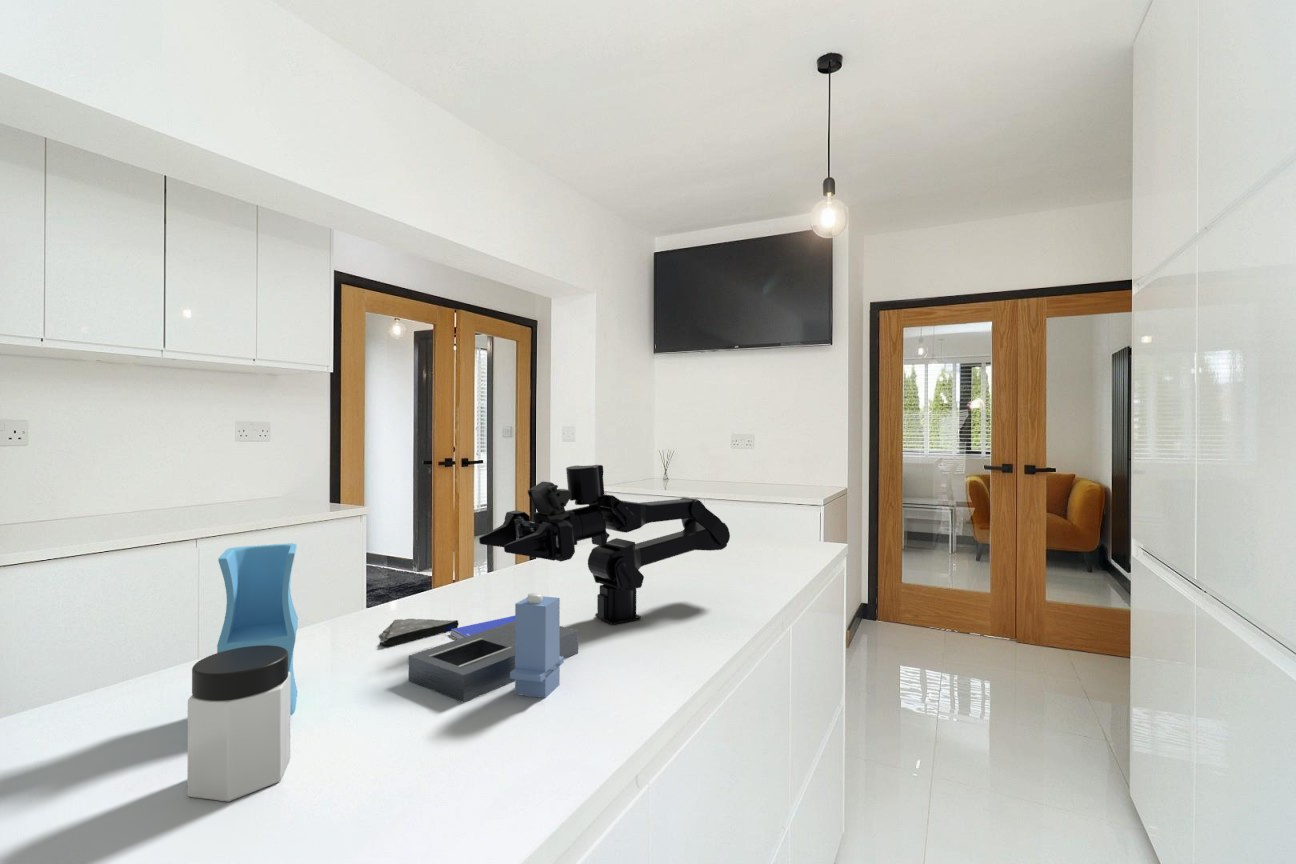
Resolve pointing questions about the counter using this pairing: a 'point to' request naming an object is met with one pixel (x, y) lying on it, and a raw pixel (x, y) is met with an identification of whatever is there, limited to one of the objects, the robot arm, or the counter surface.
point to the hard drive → (479, 627)
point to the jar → (238, 722)
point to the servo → (537, 646)
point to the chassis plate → (475, 662)
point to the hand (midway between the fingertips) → (491, 544)
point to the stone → (414, 630)
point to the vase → (260, 601)
